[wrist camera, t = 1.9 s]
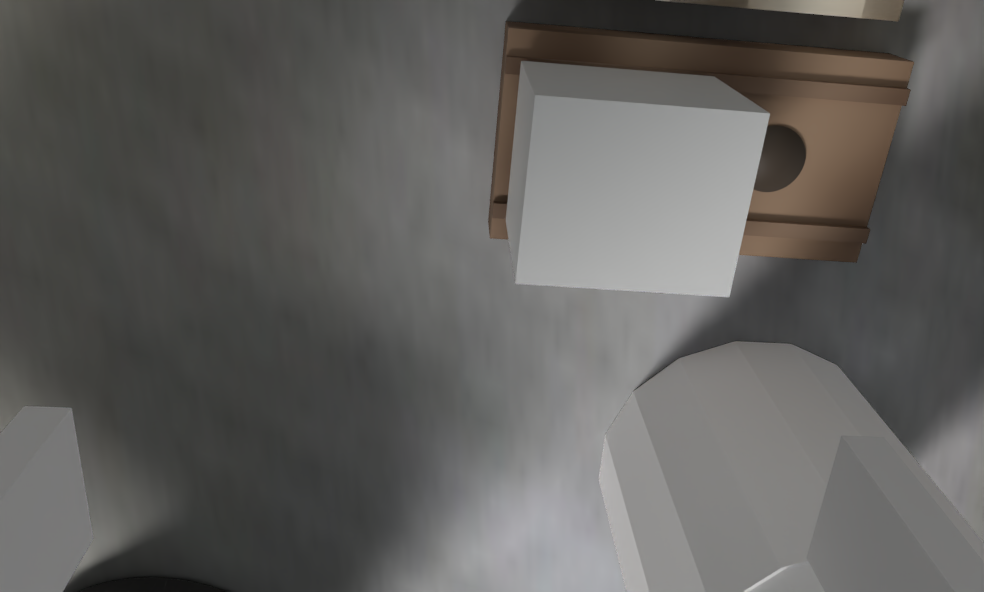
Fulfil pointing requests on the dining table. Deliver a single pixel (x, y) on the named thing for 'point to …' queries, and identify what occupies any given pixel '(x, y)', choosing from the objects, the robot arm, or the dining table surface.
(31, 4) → the dining table surface
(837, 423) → the container
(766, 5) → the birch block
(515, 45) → the walnut board
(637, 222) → the block
